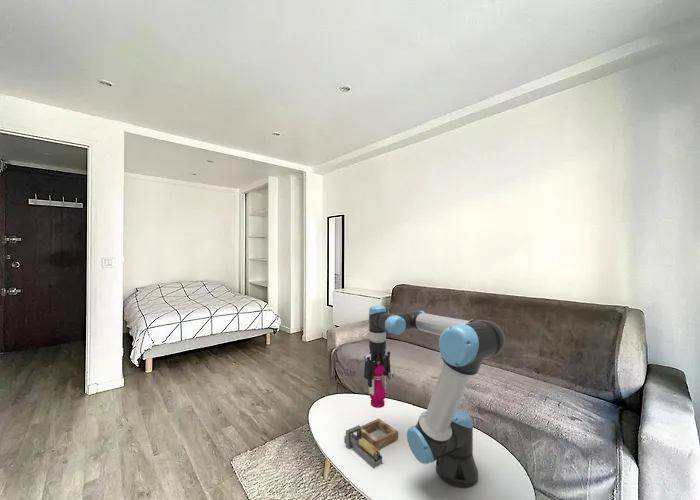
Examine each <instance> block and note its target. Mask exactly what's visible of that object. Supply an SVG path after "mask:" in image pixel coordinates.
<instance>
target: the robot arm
mask: <svg viewBox="0 0 700 500" xmlns="http://www.w3.org/2000/svg"><path fill="white" fill-rule="evenodd" d="M368 310H369V311H368V329H369V330H368V340H369V341H368V348H369V354H368V355H364V357H363V358H364V371H363V378H364V379H366V380H367V387H368V393H369V395H370V394H372V395H374V380H373V375H374V371H375V367H376V365H377V362H378V361H379V363H380V364H382V365H383V367H384V373H383V379H382V385H383V388H384V390H385V391H387V382H388V377H389V375H390V374H391V351H389V350H386V349H387V342H386V339H387V333H389V334H392V335H395V336H397V335H399V336H400V335H401V334H402V333H403V332H405V331H411V330H417V331H422V332H426V333H429V334H433V335H437V336H439V339H438V348H439V353H440V356H441V361H442V362H443V363H442V366H441V367H442V368H441V370H440V373H439V375H438V379H437V382H436V384H435V386H434V390H433V392H432V395H431V397H430V400H429V404H428V407H427V409H426V411H423V412H422V413H421V414H420V415H419V417H418V420H417V422H416V425H412V426H410V427H409V428H408V430H407V431H406V438H407V439H406V440H407V443H408V446H409V449H410V451H411V453H412V454H413V456H414V457H415V459H416V460H417V461H418V462H419V463H421V464H423V465H428V464H430V463H434V461H435V472H436V474H437V476H438V477H439V478H440V479H441V480H442V481H443V482H445V483H446V484H448V485H450V486H452V487H457V488H469V487H473V486H475V484H477V482H478V480H479V471H478V467H477V464H476V461H475V458H474V452H473V451H474V450H473V449H474V448H473V445H474V443H473V440H474V439H473V435H474V433H473V431H474V425H473V419H472V416H471V415H470V414H469V413H468V412H467V411H465V410H464V409H461V408H458V407H459V404H460V402H461V400H462V397H463V395H464V392H465V389H466V387H467V386H468V383H469V381H470V378H471V377H473V376H475V375H477V374H478V373H479V370H480V368H481V365H482V364H483V363H482V362H483V361H484V360H486V359H491V358H495V357H496V356H497V355H499V354H500V353H502V351H503V349H504V348H505V344H506V336H505V333H504V331H503V329H502V328H501V327H500V326H499V325H498V324H496V323H495V322H494V321H491V320H487V319H486V320H485V319H478V318H472V319H469V320H466V319H459V318H454V317H448V316H443V315H436V314H431V313H426V312H425V311H424V310H414V311H407V312H406V311H405V312H399V313H398V312H397V313H388V312H387V310H386V307H385V306H384V305H371V306H370V307H369V309H368Z"/></svg>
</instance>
